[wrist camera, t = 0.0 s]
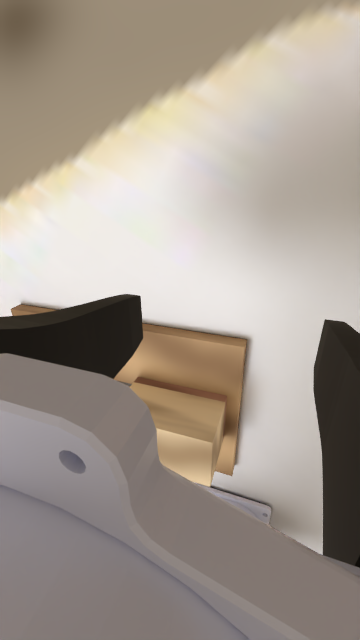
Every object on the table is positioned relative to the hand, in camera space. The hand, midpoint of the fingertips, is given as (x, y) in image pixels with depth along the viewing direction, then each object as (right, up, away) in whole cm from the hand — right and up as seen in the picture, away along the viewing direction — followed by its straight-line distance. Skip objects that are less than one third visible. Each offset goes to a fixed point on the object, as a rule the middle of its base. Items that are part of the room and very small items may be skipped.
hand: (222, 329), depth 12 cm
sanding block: (-2, -7, +15) cm, 17 cm away
